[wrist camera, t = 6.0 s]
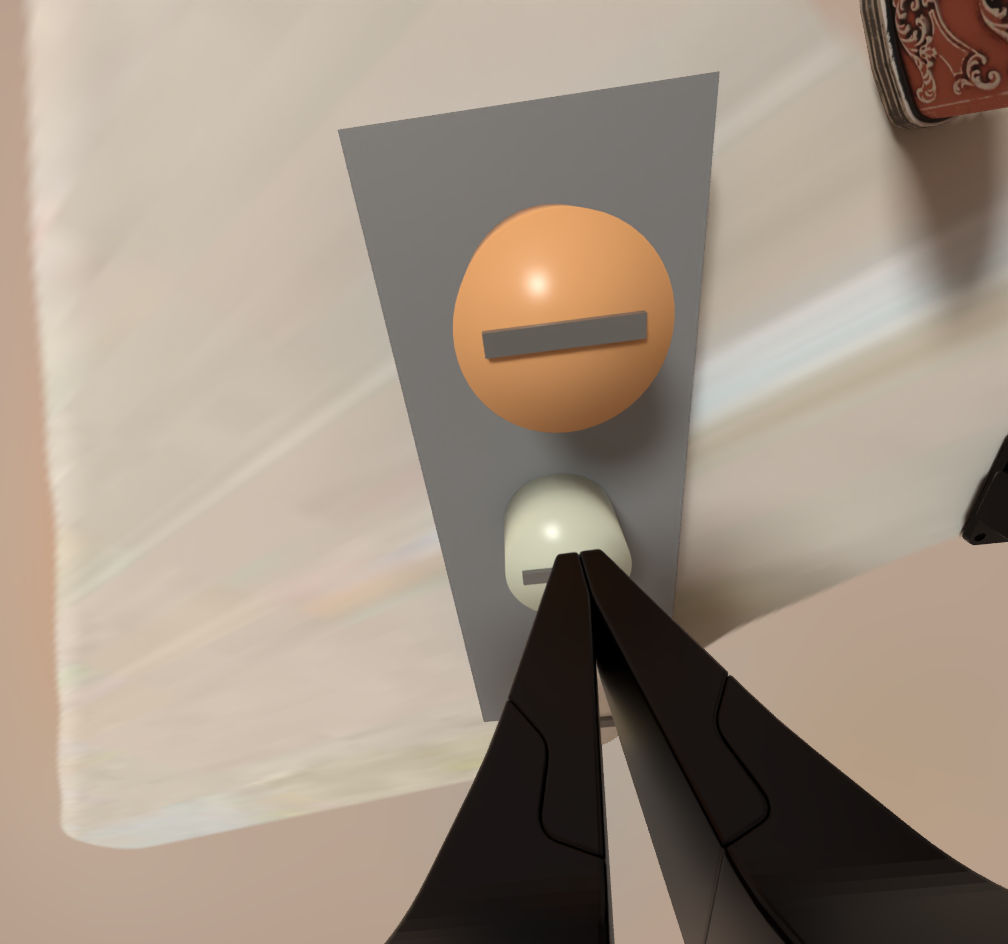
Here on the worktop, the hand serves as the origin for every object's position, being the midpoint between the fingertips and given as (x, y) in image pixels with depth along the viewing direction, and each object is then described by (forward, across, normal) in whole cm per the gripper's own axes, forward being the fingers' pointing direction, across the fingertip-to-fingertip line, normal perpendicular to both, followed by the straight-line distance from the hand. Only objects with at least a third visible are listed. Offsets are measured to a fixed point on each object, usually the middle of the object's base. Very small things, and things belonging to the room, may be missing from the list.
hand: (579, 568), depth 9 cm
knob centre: (+12, 0, +5) cm, 13 cm away
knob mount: (+12, 0, +5) cm, 13 cm away
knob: (+9, 0, -4) cm, 10 cm away
